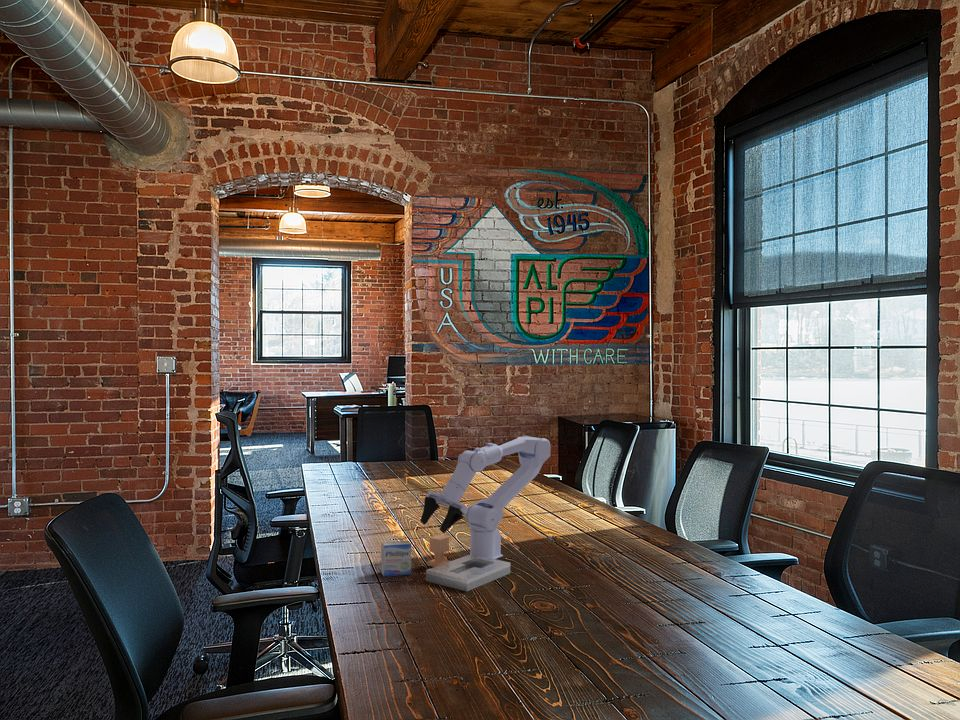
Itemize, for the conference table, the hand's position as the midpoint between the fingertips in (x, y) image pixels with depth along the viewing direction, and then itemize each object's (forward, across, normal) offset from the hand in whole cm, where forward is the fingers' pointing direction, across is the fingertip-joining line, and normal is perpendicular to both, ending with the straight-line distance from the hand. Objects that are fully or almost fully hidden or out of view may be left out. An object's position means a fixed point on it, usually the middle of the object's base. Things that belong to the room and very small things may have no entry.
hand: (432, 527), depth 213 cm
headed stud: (+7, 0, +11) cm, 13 cm away
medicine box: (+16, -3, +1) cm, 16 cm away
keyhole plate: (+7, +14, +7) cm, 18 cm away
